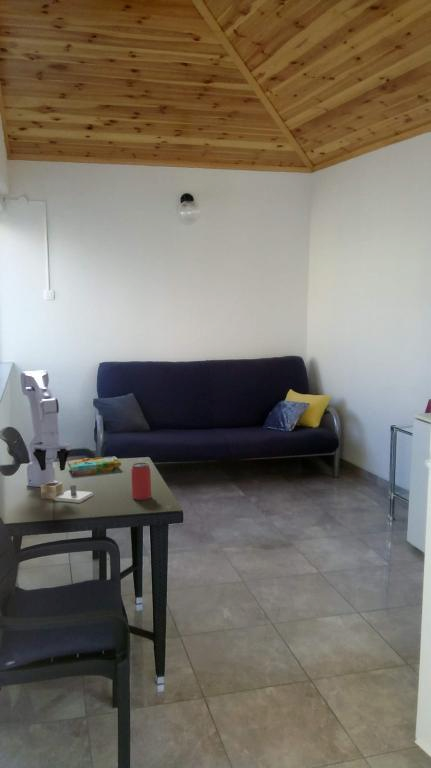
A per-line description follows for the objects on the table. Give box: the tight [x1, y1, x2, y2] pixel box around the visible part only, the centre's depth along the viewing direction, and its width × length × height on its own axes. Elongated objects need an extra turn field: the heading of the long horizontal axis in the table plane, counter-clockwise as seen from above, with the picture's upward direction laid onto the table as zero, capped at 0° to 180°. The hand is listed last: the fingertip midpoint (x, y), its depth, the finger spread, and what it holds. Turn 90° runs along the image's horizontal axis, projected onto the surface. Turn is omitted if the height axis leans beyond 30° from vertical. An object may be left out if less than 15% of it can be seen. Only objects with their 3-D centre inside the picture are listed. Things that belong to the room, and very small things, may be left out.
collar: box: [40, 482, 64, 500], centre depth 239 cm, size 6×6×4 cm
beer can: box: [130, 462, 152, 501], centre depth 234 cm, size 7×7×12 cm
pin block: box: [54, 483, 94, 504], centre depth 236 cm, size 10×9×5 cm
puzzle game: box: [67, 456, 122, 476], centre depth 275 cm, size 12×5×20 cm
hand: (52, 470), depth 238 cm, fingers open, 7 cm apart
